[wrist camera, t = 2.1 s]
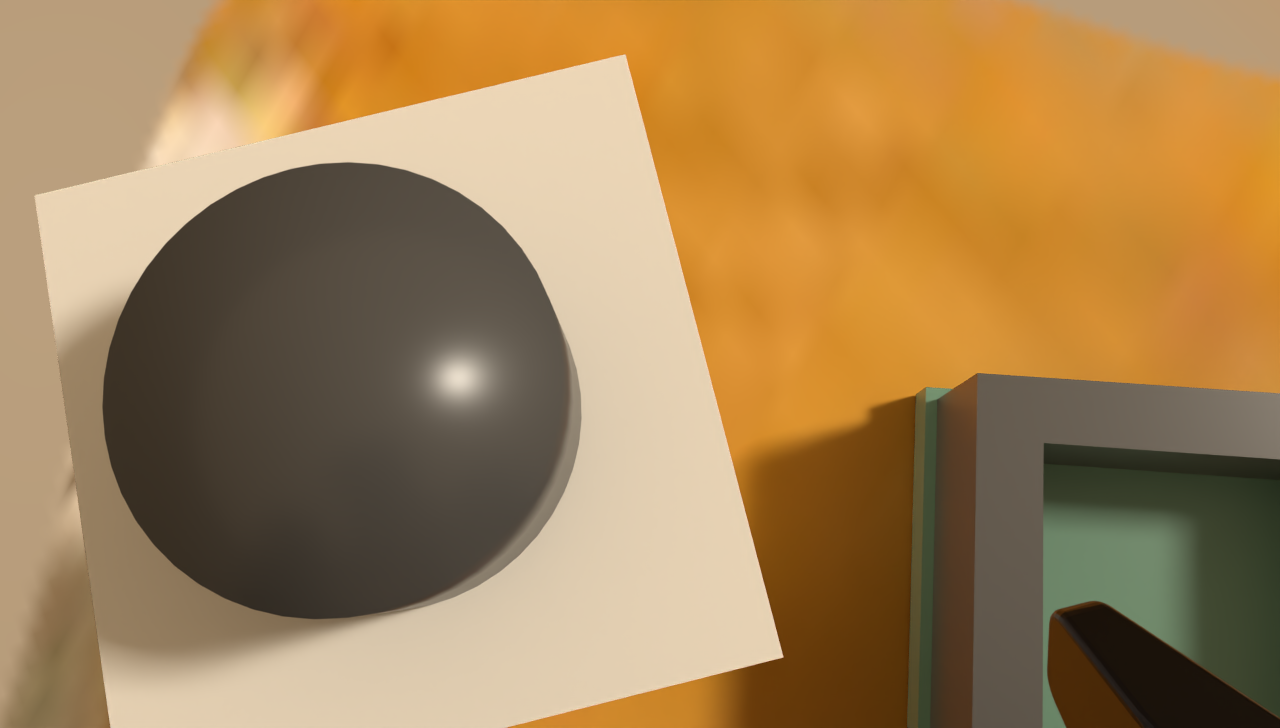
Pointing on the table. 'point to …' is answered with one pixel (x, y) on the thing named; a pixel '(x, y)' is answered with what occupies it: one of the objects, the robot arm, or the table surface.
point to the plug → (399, 422)
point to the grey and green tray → (1087, 535)
